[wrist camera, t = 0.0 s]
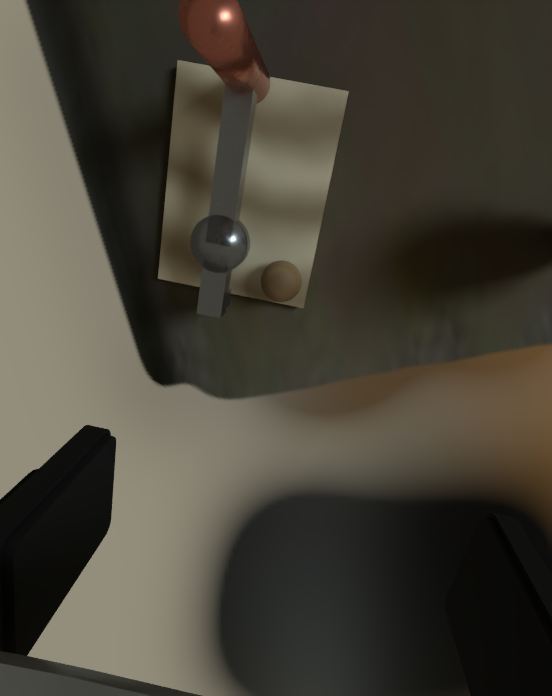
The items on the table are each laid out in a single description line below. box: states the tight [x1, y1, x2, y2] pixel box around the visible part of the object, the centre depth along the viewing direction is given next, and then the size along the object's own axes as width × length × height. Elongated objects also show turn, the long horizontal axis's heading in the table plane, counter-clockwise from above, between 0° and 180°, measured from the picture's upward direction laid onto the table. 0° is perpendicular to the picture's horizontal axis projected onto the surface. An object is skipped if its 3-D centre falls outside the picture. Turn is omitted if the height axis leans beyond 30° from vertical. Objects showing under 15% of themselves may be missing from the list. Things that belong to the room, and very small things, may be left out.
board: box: [158, 60, 349, 308], centre depth 37 cm, size 18×14×5 cm
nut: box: [261, 260, 302, 302], centre depth 38 cm, size 4×4×4 cm
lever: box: [179, 0, 270, 318], centre depth 30 cm, size 19×4×14 cm, turn 170°
